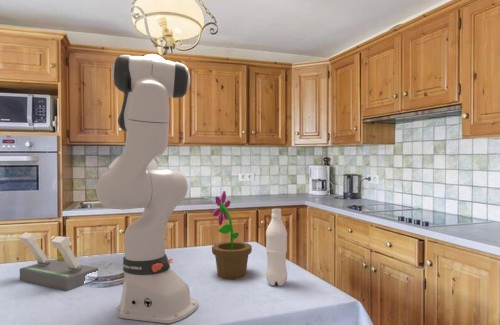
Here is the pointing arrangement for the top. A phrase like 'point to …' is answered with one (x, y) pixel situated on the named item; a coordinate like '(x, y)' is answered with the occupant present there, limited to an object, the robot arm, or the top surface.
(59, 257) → the supplement bottle
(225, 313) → the top surface
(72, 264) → the lever
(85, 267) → the switch box
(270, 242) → the water bottle
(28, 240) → the on lever
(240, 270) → the flowerpot
